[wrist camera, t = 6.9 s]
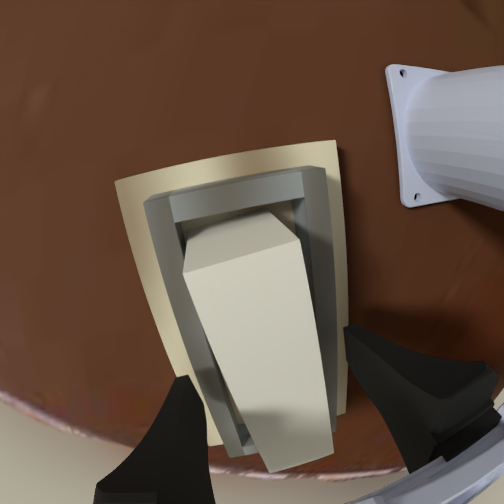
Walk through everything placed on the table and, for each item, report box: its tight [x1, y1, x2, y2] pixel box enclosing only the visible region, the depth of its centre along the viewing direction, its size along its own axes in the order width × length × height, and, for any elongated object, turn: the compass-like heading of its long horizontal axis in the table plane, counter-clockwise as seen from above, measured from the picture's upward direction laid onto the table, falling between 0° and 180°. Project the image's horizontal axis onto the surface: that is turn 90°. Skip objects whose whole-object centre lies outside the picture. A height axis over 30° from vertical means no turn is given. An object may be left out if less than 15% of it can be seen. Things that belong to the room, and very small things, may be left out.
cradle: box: [115, 140, 348, 458], centre depth 15 cm, size 10×18×3 cm, turn 10°
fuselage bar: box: [183, 208, 334, 473], centre depth 13 cm, size 4×12×5 cm, turn 15°
